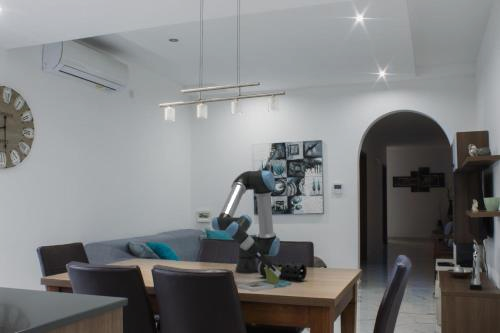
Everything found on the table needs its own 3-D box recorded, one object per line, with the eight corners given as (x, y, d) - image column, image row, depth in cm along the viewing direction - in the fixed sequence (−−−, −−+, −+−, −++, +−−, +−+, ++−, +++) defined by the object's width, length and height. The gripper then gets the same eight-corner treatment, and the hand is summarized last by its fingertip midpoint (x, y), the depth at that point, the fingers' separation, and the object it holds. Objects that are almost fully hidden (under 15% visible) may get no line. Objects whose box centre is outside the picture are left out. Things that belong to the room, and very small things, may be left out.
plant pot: (285, 284, 273) (284, 268, 274) (272, 286, 267) (272, 269, 268) (273, 282, 280) (272, 266, 281) (260, 284, 274) (260, 267, 274)
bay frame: (234, 286, 267) (234, 284, 267) (270, 281, 285) (270, 278, 285) (257, 291, 254) (257, 288, 254) (293, 285, 271) (293, 282, 271)
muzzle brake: (298, 283, 279) (298, 264, 279) (257, 278, 295) (256, 260, 295) (307, 280, 286) (306, 262, 287) (265, 276, 302) (265, 259, 303)
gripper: (242, 248, 285) (268, 274, 286) (247, 253, 260) (276, 281, 261) (251, 238, 286) (277, 264, 287) (257, 242, 261) (286, 271, 262)
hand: (277, 273), depth 274 cm, fingers open, 13 cm apart
